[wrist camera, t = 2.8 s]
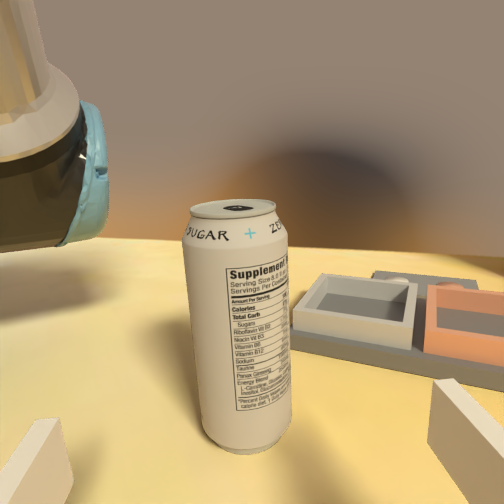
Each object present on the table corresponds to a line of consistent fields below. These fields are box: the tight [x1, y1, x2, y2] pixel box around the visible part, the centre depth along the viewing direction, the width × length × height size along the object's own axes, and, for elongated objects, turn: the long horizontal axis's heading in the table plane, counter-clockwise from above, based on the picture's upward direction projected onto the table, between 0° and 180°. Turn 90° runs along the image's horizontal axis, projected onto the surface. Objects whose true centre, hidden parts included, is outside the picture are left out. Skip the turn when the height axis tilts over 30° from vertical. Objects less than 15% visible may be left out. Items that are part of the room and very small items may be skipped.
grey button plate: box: [372, 271, 479, 299], centre depth 45 cm, size 12×7×1 cm, turn 65°
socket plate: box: [290, 273, 504, 392], centre depth 34 cm, size 22×12×4 cm, turn 65°
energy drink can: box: [182, 199, 292, 455], centre depth 23 cm, size 6×6×15 cm
